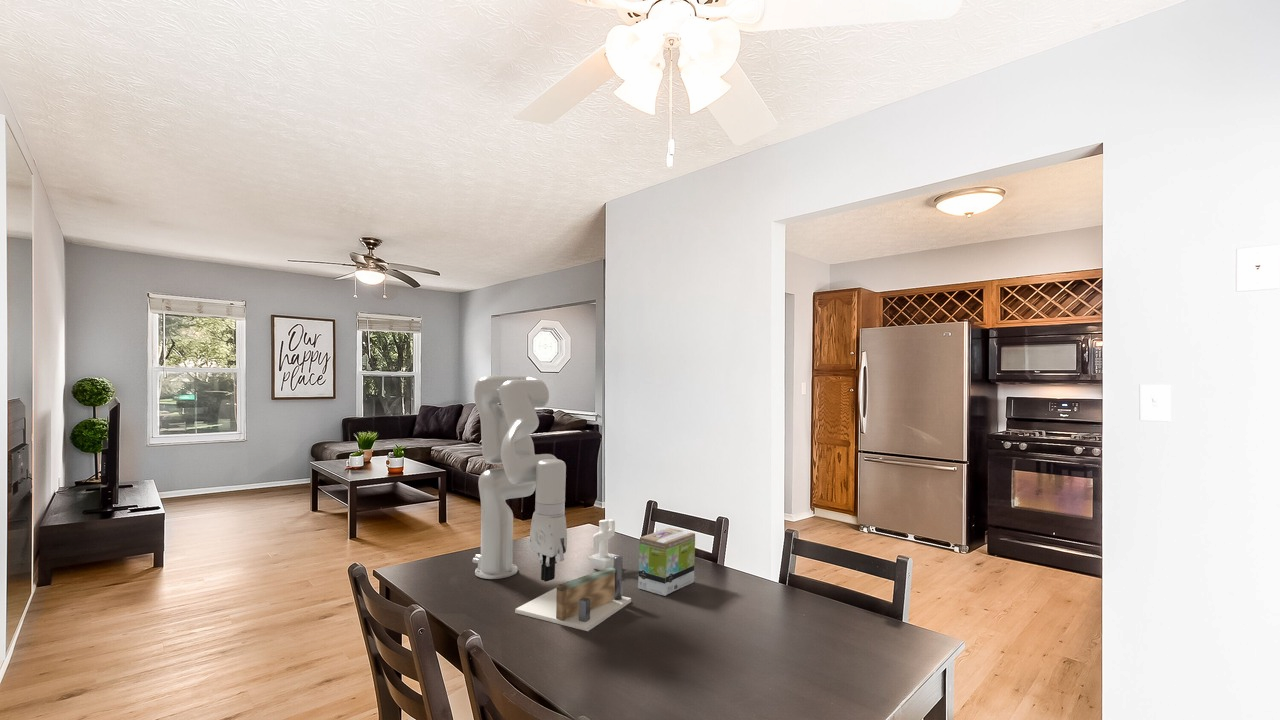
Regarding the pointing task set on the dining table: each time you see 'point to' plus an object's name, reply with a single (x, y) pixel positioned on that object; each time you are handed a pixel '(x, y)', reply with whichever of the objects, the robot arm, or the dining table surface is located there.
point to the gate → (585, 592)
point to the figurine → (603, 546)
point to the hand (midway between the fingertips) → (547, 579)
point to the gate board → (546, 611)
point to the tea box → (666, 561)
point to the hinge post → (617, 565)
